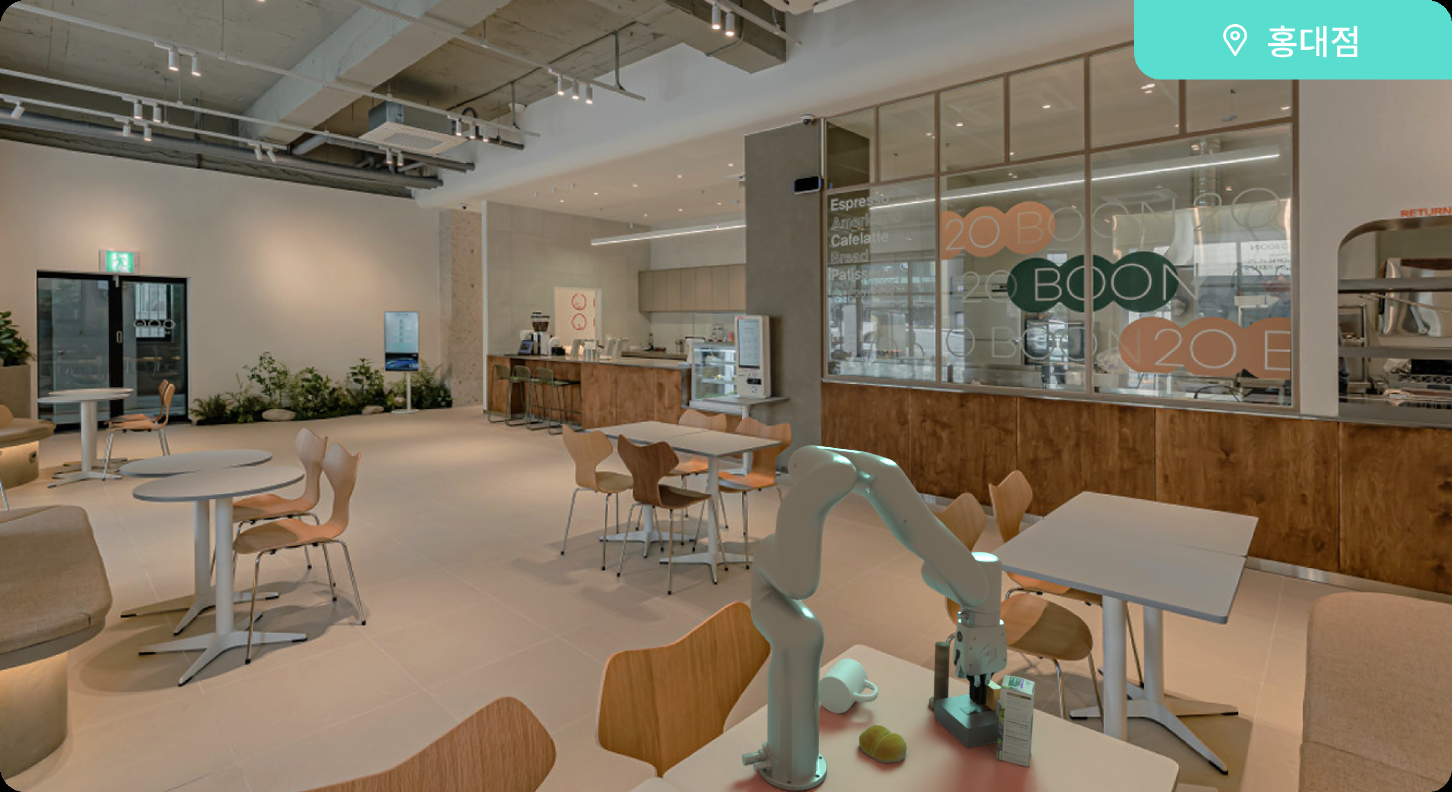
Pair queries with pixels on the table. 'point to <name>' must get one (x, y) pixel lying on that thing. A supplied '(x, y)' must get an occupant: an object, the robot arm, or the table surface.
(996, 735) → the switch box
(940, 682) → the post
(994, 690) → the block
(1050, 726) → the table surface
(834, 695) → the mug
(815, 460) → the robot arm
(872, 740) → the bread roll
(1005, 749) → the syrup box
